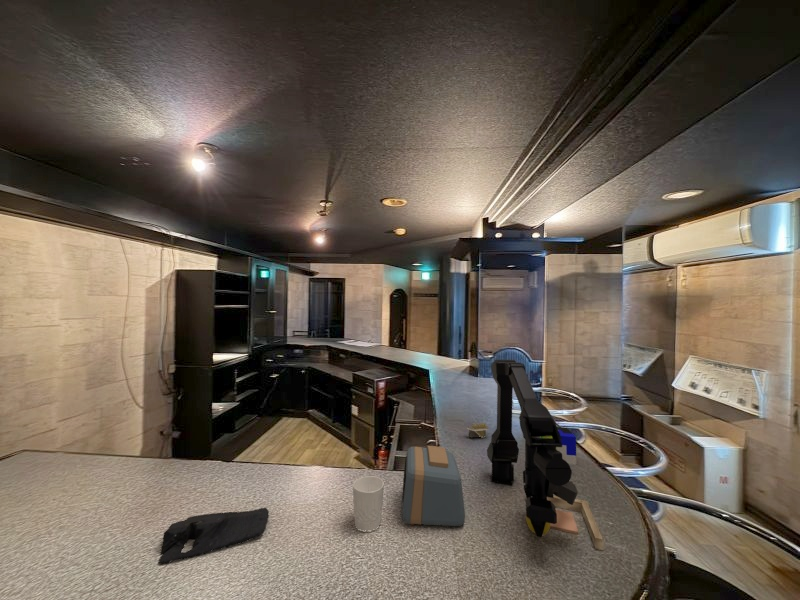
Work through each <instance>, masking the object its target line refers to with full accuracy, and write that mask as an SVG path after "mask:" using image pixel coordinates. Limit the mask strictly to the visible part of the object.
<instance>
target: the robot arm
mask: <svg viewBox="0 0 800 600" xmlns="http://www.w3.org/2000/svg"><path fill="white" fill-rule="evenodd" d="M490 371H491V373H492V378H493V380H494V381H495V384H496V385H497V392H496V394H497V396H496V398H497V399H496V403H497V404H496V405H497V406H496V429H495V430H494V432H493V433H492V434H491V440H490V442H489V444H488V447H487V449H486V455H487V459H488V460H489V461H490V463H491V478H490V480H491V482H493V483H499V484H504V485H510V486H512V485H513V482H514V481H515V478H514V477H515V476H514V475H515V470H514V469H515V468H514V467H515V466H514V464H513V463H515V464H517V463H518V459H519V452H520V451H519V450H520V449H519V445H518V440H516V438H515V436H514V435H513V434H514V433H513V391H514V394H515V397H516V399H517V402H518V404H519V407H520V413H519V416H518V419H519V427H520V430H521V432H522V435H523V436H522V437H523V439H524V440H525V441H524V442H525V443H524V451H525V452H524V456H525V457H524V460H525V461H524V468H525V469H524V470H523V471H522V481H523V484H524V485H523V491H524V493H525V518H526V517H528V518H529V519H530V521H531V523H532V526H533V528H534V531H535V533H536V534H535V533H534V534H535V535H536V537H537V538H542V537H543V536H544V535H543V531H544V528H545V524H546V522H547V523H552V524H556V523H557V513H556V510H557V509H556V507H555V506H554V504H553V503H552V502H551V501H549V500H547V497H551V498H553V495H555V496H557V497H559V498H561V499H563V500H565V501H566V502H567V503H569V504H571V505H573V503H574V501H575V499H577V496H578V494H579V491H578V490H577V487H576V484H574V482H573V481H572V480H571V479H572V474H573V472H572V471H573V470H572V469H571V465H570V464H568V463H567V462H566V461H565V460H564V459H563V458H562V453H561V452H560V451H557V450H556V447H562V443H561V440H562V438H561V435H560V433H559V431H558V428H557V427H558V426H557V424H556V421H555V419H554V417H553V416H552V414H551V412H550V411H549V409H548V407H547V406H545V405H544V404H543V403H541V402H540V400H538V398H537V394H536V393H535V390H534V388H533V386H532V384H531V381H530V380H529V377H528V374H527V373H526V366H525V364H524V363H522V362H517V361H516V360H515V359H494V361H493V362H492V363H491V365H490ZM550 436H552V437H553V438H541V437H550ZM526 497H527V499H526Z"/></svg>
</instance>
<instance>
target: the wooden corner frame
mask: <svg viewBox="0 0 800 600" xmlns="http://www.w3.org/2000/svg"><path fill="white" fill-rule="evenodd" d="M526 499H527V497H526V496H525V500H526ZM547 500H549V501H551V502H552V503H553V504H554V506H555V508H560V509H564V510H559V509H556V513H557V523H556V524H552V523H550V529H552V530H556V531H560V532H564V533H565V532H566V533H570V534H574V535H579V530H578V526H577V523H576V520H575V517H574V514H573V512H574V511H575V512H579V513H581V514H582V517H583V519H584V522H585V525H586V528H587V529H588V530H587V531H588V533H589V535H590V538H591V541H592V543H593V546H594V549H595V550H599V551H604V540H603V539H604V538H603V536H602V534H601V532H600V530H599V527H598V525H597V523H596V520H595V518H594V514H593V512H592V510H591V509H590V506H589V503H588V502H587V500H583V499H578V498H576V499H575V501H574V503H573V505H571V504H569V503H567V502H566V501H565V500H563V499H561V498H559V497H557V496H555V495H554V494H553V498H551V497H547ZM565 510H569V511H573V512H569V511H565Z"/></svg>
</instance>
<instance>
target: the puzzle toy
mask: <svg viewBox="0 0 800 600" xmlns="http://www.w3.org/2000/svg"><path fill="white" fill-rule="evenodd" d="M557 428H558V431H559V433H560V435H561V438H562V440H561V443H562V447H556V450H557V451H560V452H561V453H562V458H563V459H564V460H565V461H566V462H567V463H568V464H569V465H573V466H574V465H575V466H577V436H575V434H574V433H573V432H572V431H571V430H570V429H569V428H568V427H561V426H557ZM541 438H553V437H552V436H550V437H541Z"/></svg>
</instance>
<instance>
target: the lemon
mask: <svg viewBox="0 0 800 600" xmlns="http://www.w3.org/2000/svg"><path fill="white" fill-rule="evenodd" d="M525 522H526V524H527V526H528V529H529V530H530V531H531V533H533V534H535V535H536V533H535V531H534V528H533V526H532V523H531V521H530V519H529V518H528V517H526V516H525ZM550 529H551V528H550V523H547V522H546V524H545V528H544V531H543V535H542V536H544V535H547V533H548V532H549V531H550Z"/></svg>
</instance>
